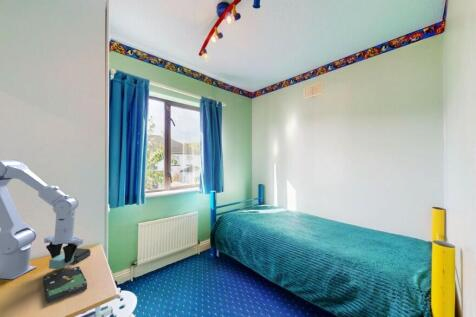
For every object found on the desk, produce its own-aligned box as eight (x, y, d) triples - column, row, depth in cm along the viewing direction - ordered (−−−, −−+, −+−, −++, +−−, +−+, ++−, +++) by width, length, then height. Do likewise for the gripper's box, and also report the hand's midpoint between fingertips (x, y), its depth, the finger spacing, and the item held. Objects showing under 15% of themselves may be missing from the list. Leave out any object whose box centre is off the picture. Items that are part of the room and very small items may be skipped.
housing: (48, 268, 75) (49, 259, 75) (64, 260, 81) (64, 252, 82) (59, 269, 75) (60, 260, 75) (74, 261, 81) (75, 253, 81)
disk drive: (42, 284, 70) (46, 305, 60) (42, 276, 70) (47, 296, 60) (78, 272, 78) (87, 289, 68) (78, 265, 78) (88, 281, 68)
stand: (59, 261, 83) (60, 254, 83) (73, 253, 90) (74, 247, 90) (77, 262, 83) (77, 256, 83) (90, 254, 90) (90, 249, 90)
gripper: (37, 230, 74) (34, 265, 74) (73, 232, 74) (70, 268, 74) (54, 224, 82) (52, 256, 81) (87, 226, 81) (85, 258, 81)
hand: (61, 261), depth 78 cm, fingers closed on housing, 4 cm apart
